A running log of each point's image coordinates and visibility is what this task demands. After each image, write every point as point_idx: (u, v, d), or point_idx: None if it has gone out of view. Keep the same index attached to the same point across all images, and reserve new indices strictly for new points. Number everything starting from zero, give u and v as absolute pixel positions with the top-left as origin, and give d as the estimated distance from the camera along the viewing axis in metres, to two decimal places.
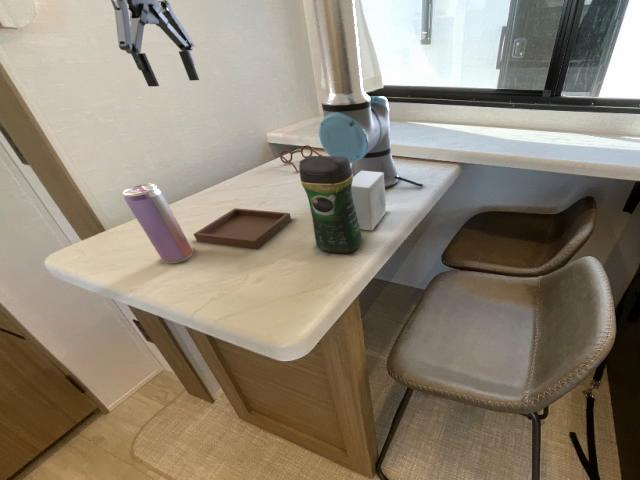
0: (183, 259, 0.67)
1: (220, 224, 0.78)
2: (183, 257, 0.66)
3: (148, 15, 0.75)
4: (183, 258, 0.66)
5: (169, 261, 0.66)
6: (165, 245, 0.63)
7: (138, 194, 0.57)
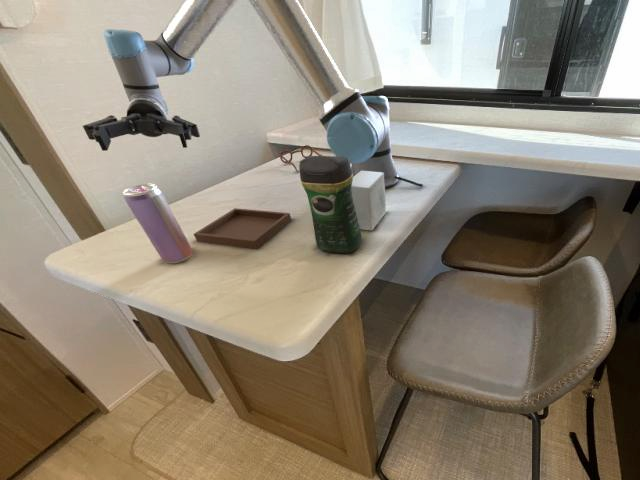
0: (183, 259, 0.67)
1: (220, 224, 0.78)
2: (183, 257, 0.66)
3: (140, 119, 0.71)
4: (183, 258, 0.66)
5: (169, 261, 0.66)
6: (165, 245, 0.63)
7: (138, 194, 0.57)
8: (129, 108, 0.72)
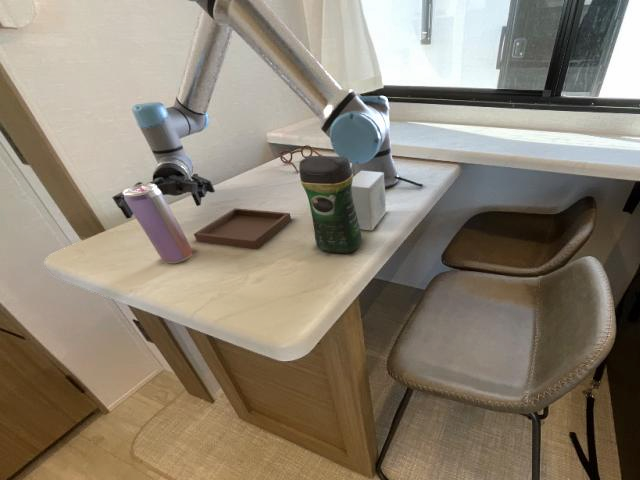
0: (183, 259, 0.67)
1: (220, 224, 0.78)
2: (183, 257, 0.66)
3: (163, 182, 0.77)
4: (183, 258, 0.66)
5: (169, 261, 0.66)
6: (165, 245, 0.63)
7: (138, 194, 0.57)
8: (154, 173, 0.78)
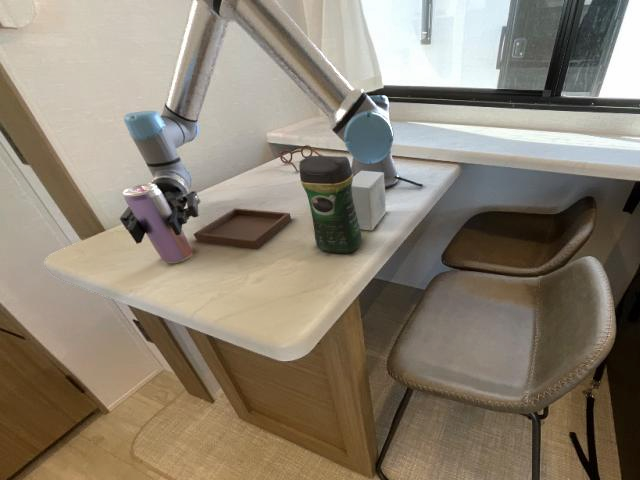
0: (183, 259, 0.67)
1: (220, 224, 0.78)
2: (183, 257, 0.66)
3: None
4: (183, 258, 0.66)
5: (169, 261, 0.66)
6: (165, 245, 0.63)
7: (138, 194, 0.57)
8: None
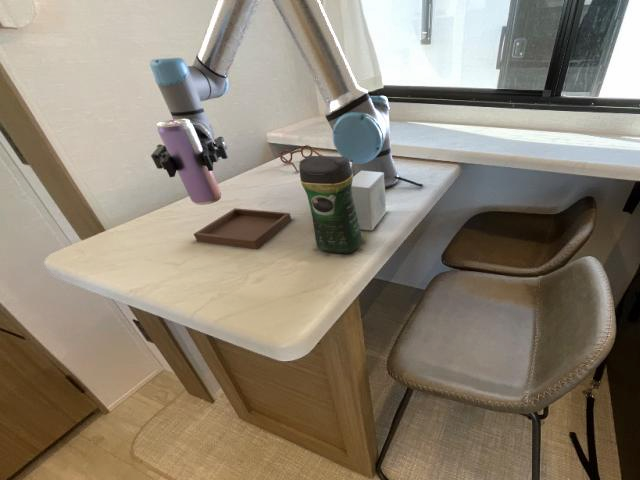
0: (213, 200, 0.66)
1: (220, 224, 0.78)
2: (213, 198, 0.66)
3: None
4: (213, 199, 0.66)
5: (199, 202, 0.65)
6: (196, 184, 0.63)
7: (172, 125, 0.56)
8: None
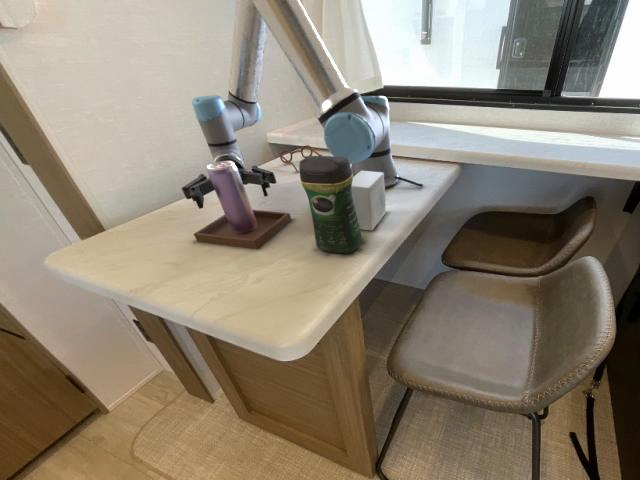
0: (250, 230, 0.75)
1: (220, 224, 0.78)
2: (251, 228, 0.75)
3: None
4: (250, 229, 0.75)
5: (239, 231, 0.74)
6: (238, 216, 0.72)
7: (221, 168, 0.65)
8: None
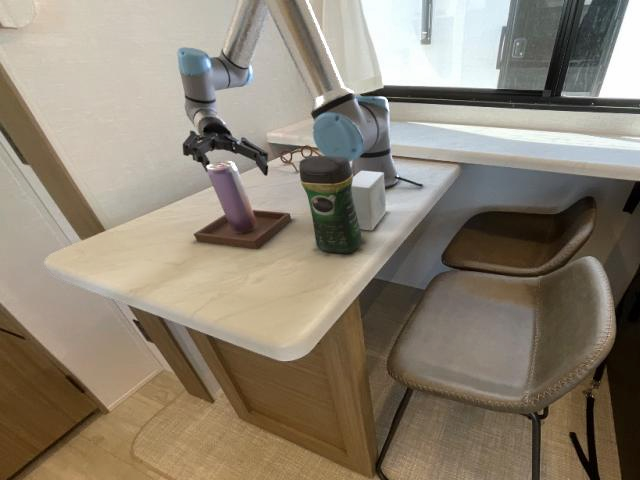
0: (250, 230, 0.75)
1: (220, 224, 0.78)
2: (251, 228, 0.75)
3: (218, 139, 0.83)
4: (250, 229, 0.75)
5: (239, 231, 0.74)
6: (238, 216, 0.72)
7: (221, 168, 0.65)
8: (206, 126, 0.83)
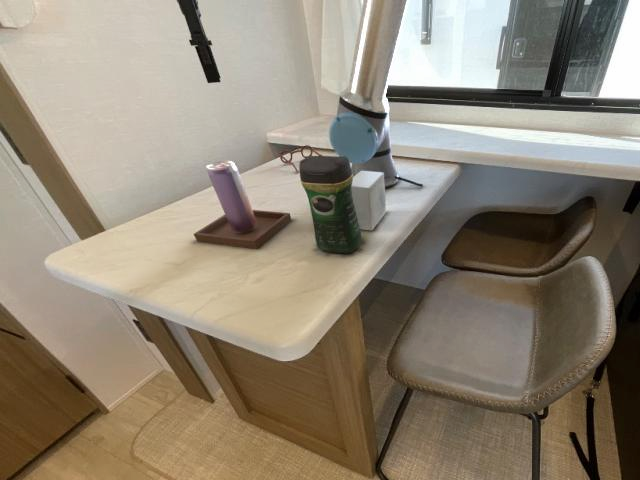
0: (250, 230, 0.75)
1: (220, 224, 0.78)
2: (251, 228, 0.75)
3: None
4: (250, 229, 0.75)
5: (239, 231, 0.74)
6: (238, 216, 0.72)
7: (221, 168, 0.65)
8: None
